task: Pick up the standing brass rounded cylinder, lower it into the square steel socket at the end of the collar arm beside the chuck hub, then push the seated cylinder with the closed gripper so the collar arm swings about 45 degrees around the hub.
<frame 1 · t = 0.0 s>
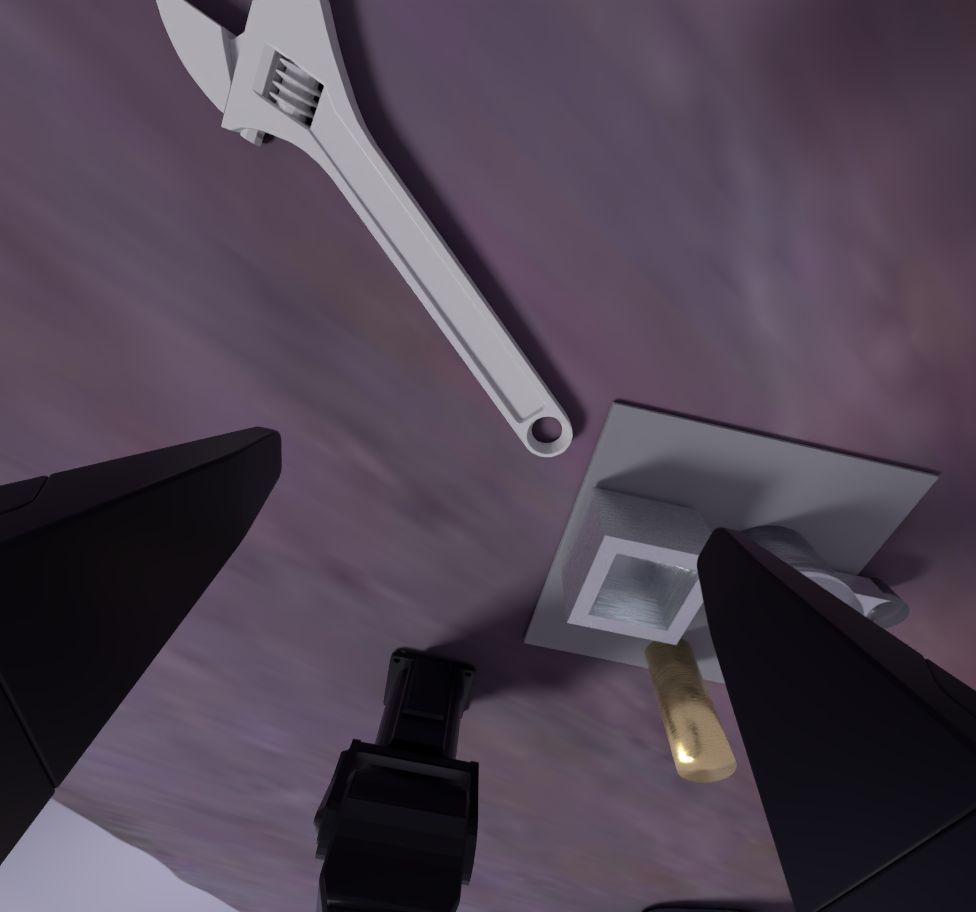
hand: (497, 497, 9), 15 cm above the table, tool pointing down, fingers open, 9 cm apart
brass rounded cylinder: (667, 652, 32), resting on mat
collar arm: (747, 589, 25), point 3 cm above the table, hinge at 0.0°
mat: (698, 569, 28), on the table
hub: (755, 561, 28), resting on mat
adjustable wrench: (402, 244, 21), on the table
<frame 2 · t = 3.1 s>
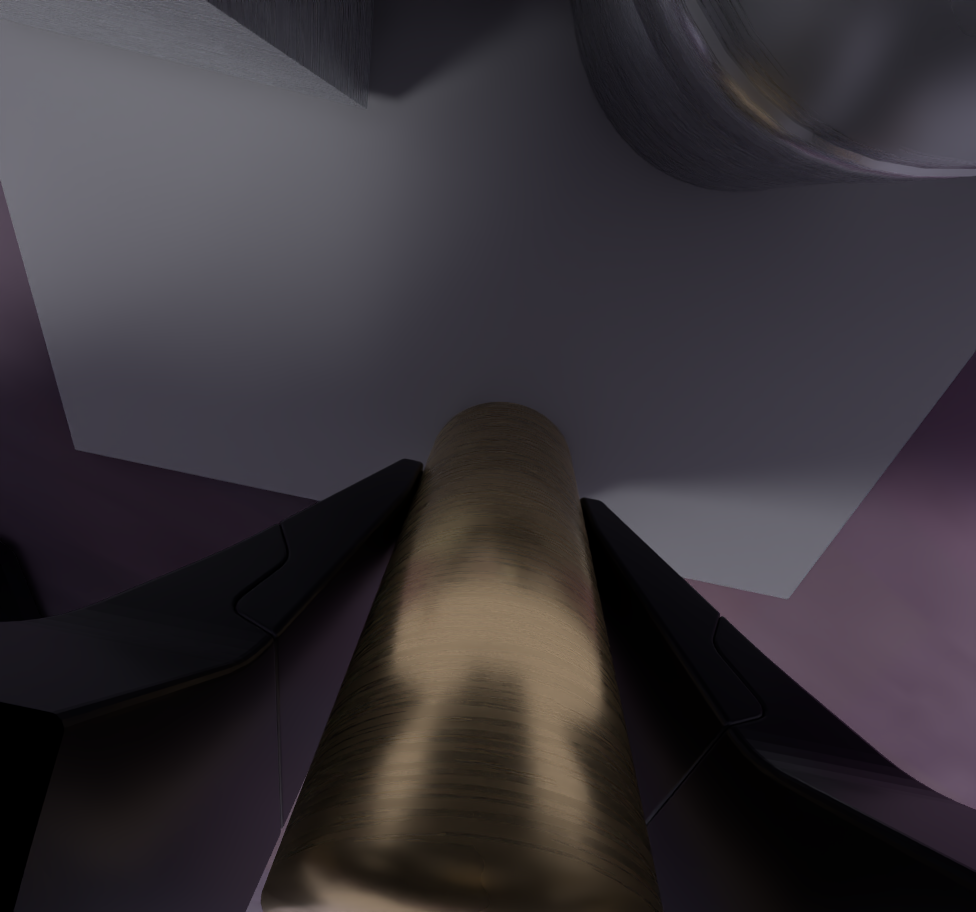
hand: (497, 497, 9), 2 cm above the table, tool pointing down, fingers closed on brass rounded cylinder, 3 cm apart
brass rounded cylinder: (500, 467, 10), resting on mat, touching gripper
mat: (545, 28, 7), on the table
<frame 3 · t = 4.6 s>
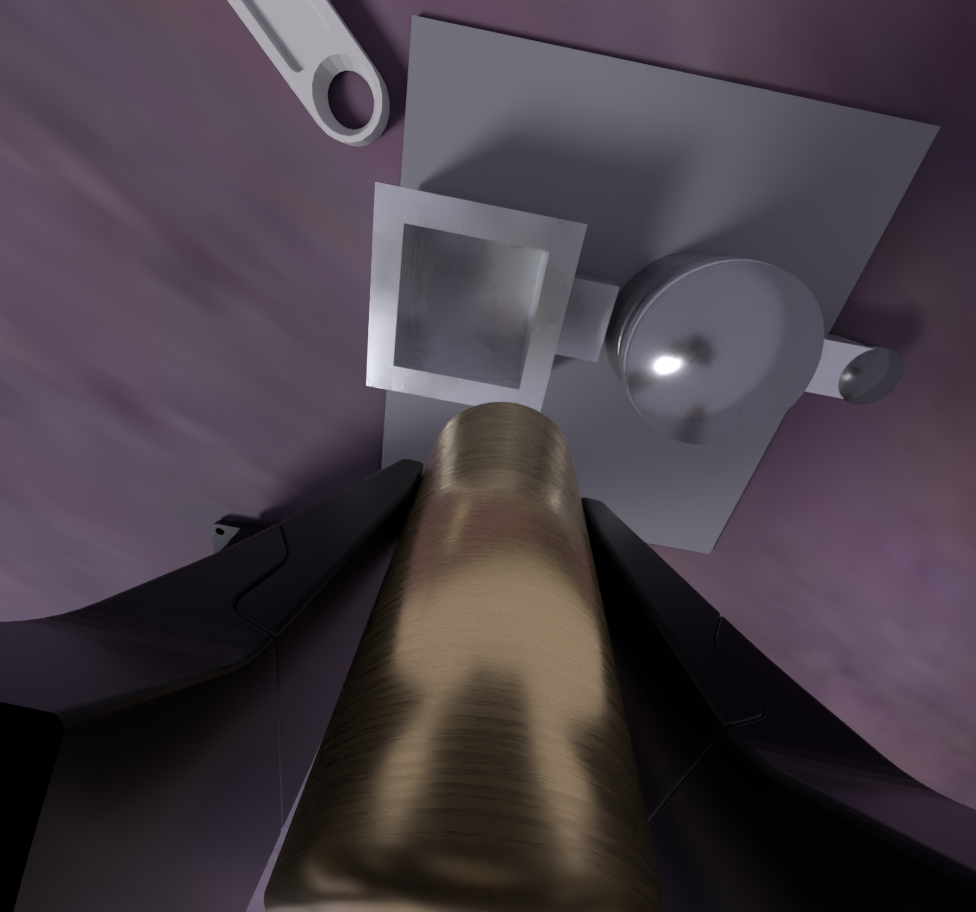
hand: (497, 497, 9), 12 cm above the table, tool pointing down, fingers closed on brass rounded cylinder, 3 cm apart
brass rounded cylinder: (501, 467, 10), point 11 cm above the table, touching gripper
collar arm: (650, 336, 16), point 3 cm above the table, hinge at 0.0°
mat: (596, 349, 20), on the table
hub: (675, 328, 19), resting on mat
when the fingers open (5 cm above the table, at t = 6.2 s): brass rounded cylinder drops 3 cm, resting on collar arm.
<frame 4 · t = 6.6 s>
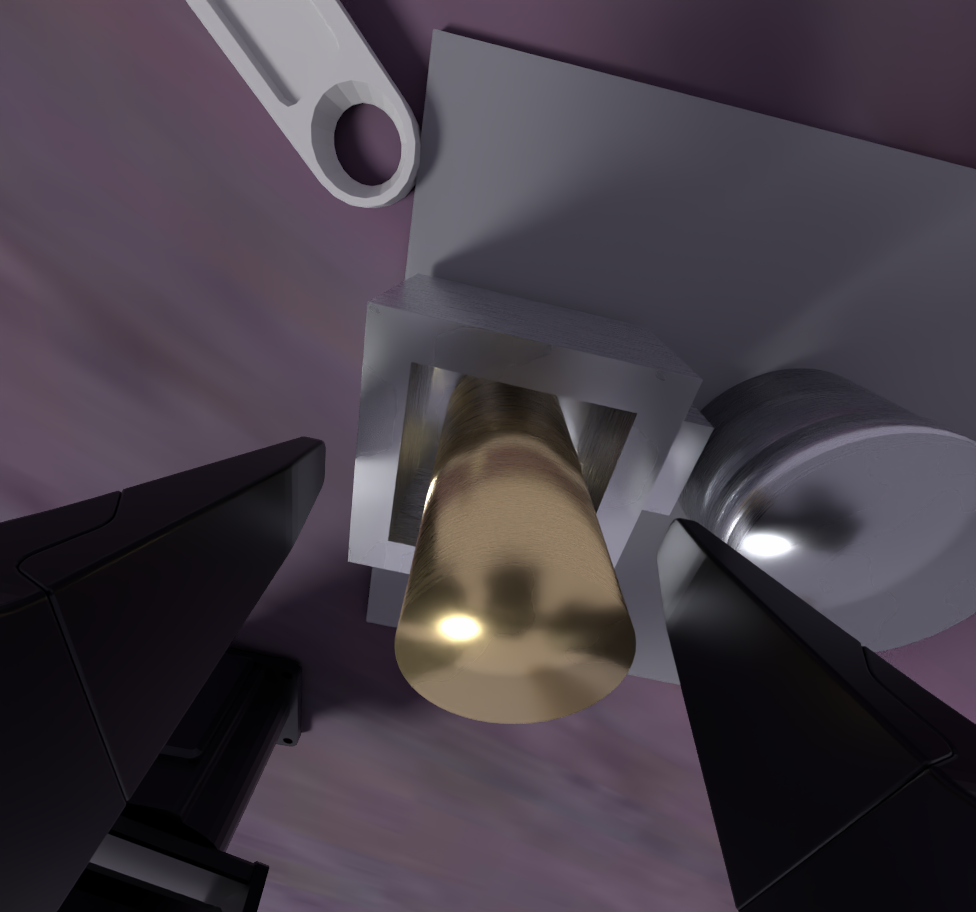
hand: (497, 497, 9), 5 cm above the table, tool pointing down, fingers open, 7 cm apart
brass rounded cylinder: (503, 418, 12), point 2 cm above the table, touching collar arm
collar arm: (751, 493, 12), point 3 cm above the table, hinge at 0.0°, touching brass rounded cylinder
mat: (657, 475, 15), on the table
hub: (766, 456, 14), resting on mat
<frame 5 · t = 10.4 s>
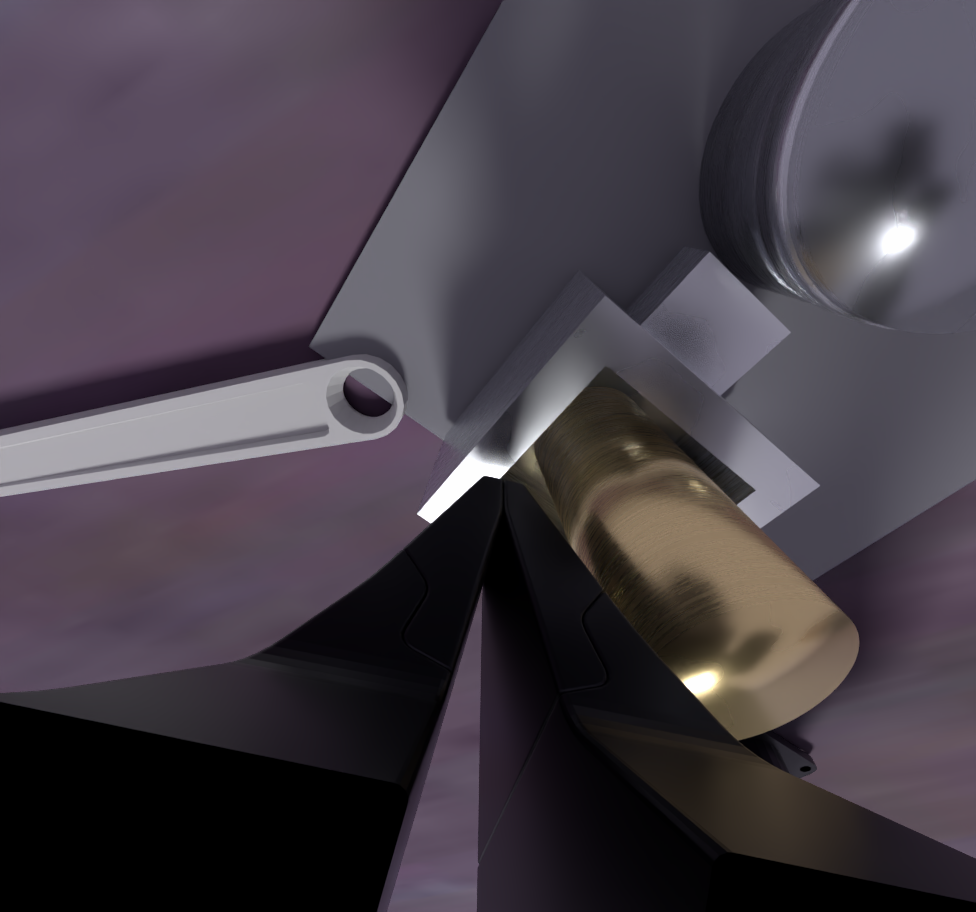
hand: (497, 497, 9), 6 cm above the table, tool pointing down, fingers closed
brass rounded cylinder: (588, 438, 13), point 2 cm above the table, tilted 10°, touching collar arm
collar arm: (824, 232, 9), point 3 cm above the table, hinge at 0.0°, touching brass rounded cylinder
mat: (758, 302, 12), on the table
hub: (824, 160, 11), resting on mat
adjustable wrench: (101, 453, 17), on the table
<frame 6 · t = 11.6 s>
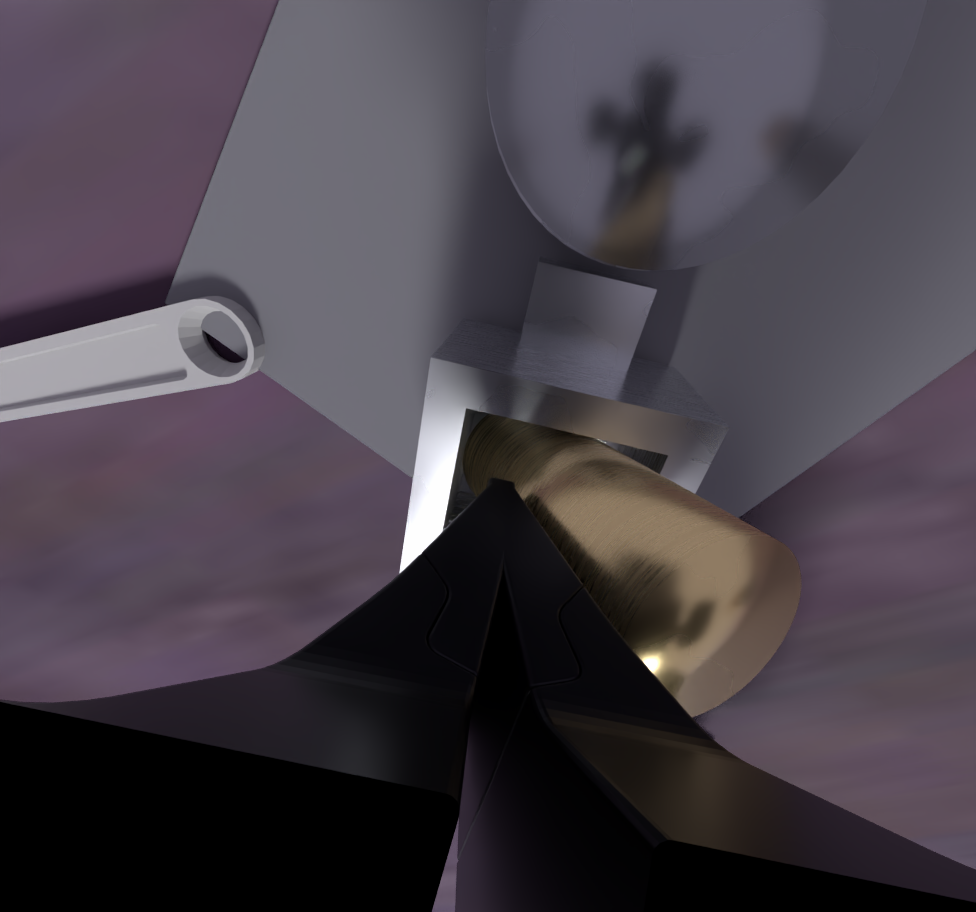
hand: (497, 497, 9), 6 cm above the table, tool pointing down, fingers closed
brass rounded cylinder: (515, 456, 13), point 2 cm above the table, tilted 26°, touching collar arm, gripper
collar arm: (623, 198, 9), point 3 cm above the table, hinge at 26.7°, touching brass rounded cylinder
mat: (588, 264, 12), on the table
hub: (631, 118, 11), resting on mat
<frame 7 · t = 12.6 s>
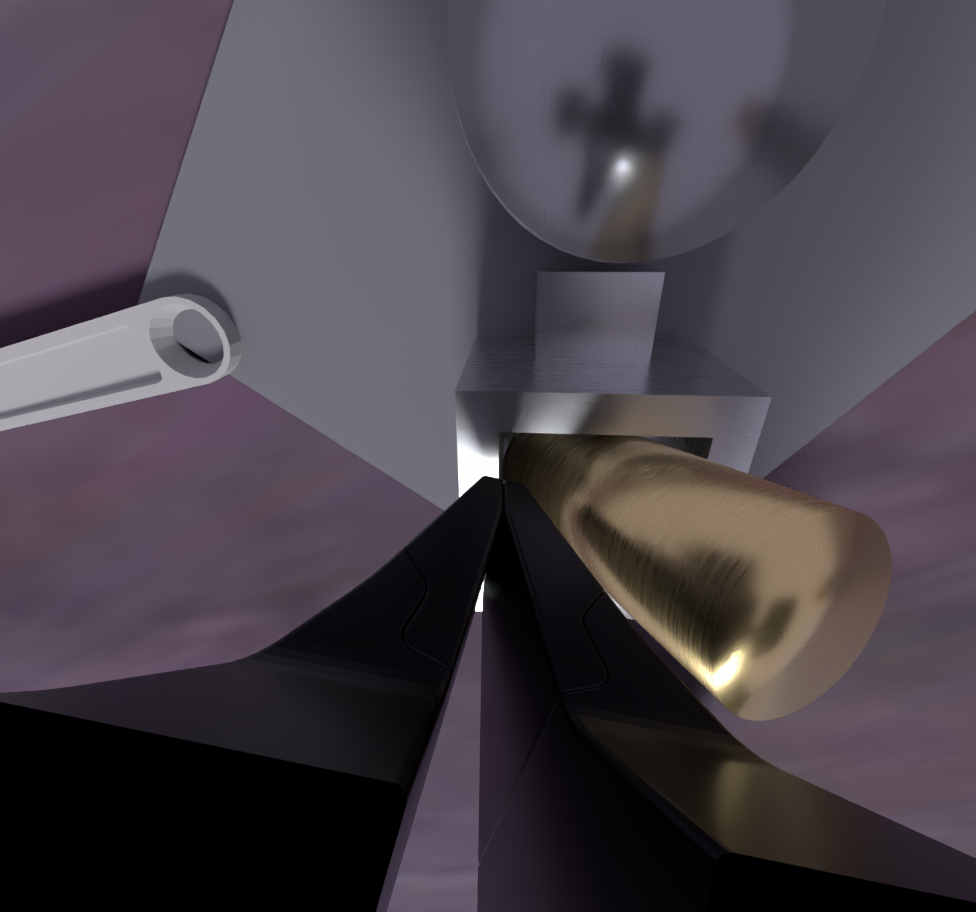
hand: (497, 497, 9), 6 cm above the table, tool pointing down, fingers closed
brass rounded cylinder: (554, 465, 13), point 2 cm above the table, tilted 26°, touching collar arm
collar arm: (613, 191, 9), point 3 cm above the table, hinge at 36.6°, touching brass rounded cylinder
mat: (566, 258, 12), on the table
hub: (602, 108, 11), resting on mat
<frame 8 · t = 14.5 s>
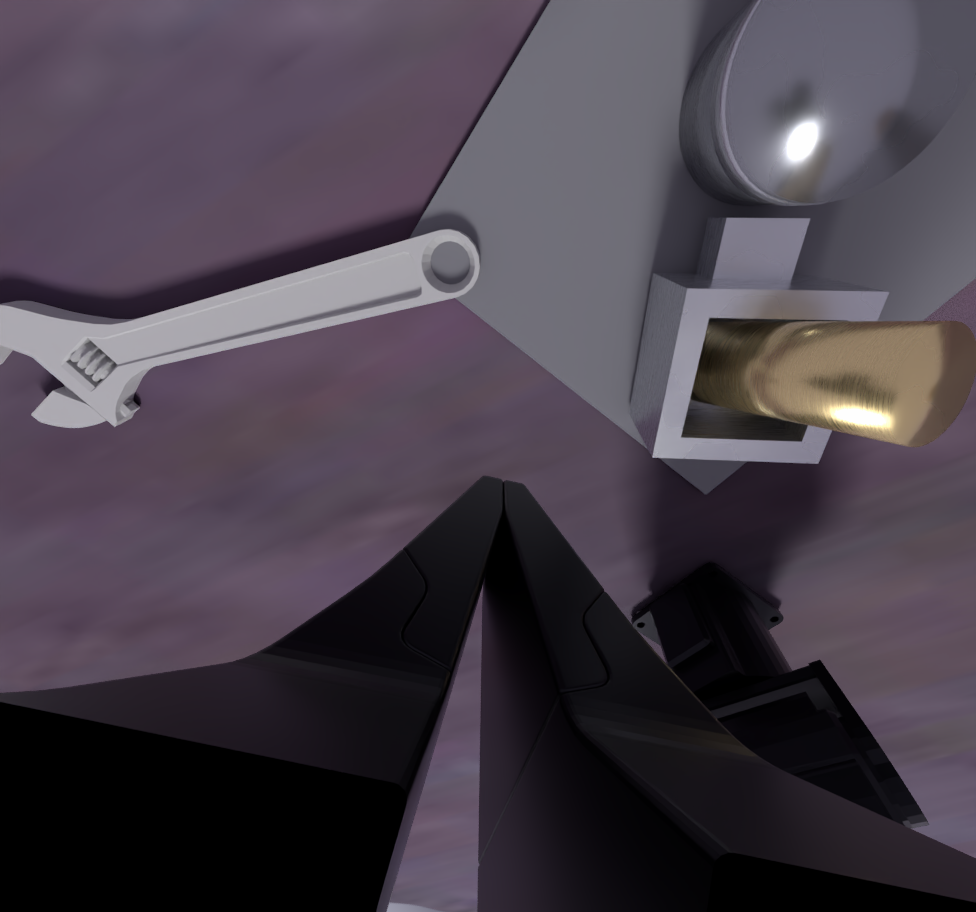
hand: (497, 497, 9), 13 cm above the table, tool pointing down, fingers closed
brass rounded cylinder: (707, 362, 18), point 2 cm above the table, tilted 26°, touching collar arm
collar arm: (788, 163, 14), point 3 cm above the table, hinge at 36.6°, touching brass rounded cylinder
mat: (722, 214, 18), on the table
hub: (763, 110, 16), resting on mat
adjustable wrench: (232, 334, 22), on the table
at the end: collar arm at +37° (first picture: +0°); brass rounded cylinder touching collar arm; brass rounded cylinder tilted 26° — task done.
